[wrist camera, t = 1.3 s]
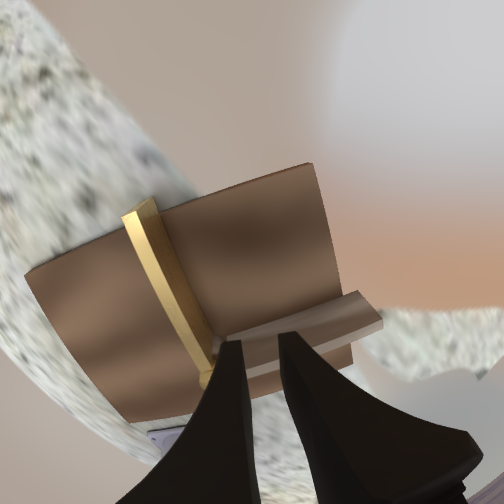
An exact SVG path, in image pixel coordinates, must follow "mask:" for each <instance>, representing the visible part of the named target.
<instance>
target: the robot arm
mask: <svg viewBox="0 0 504 504" xmlns="http://www.w3.org/2000/svg"><path fill="white" fill-rule="evenodd" d="M278 347H279V364H280V377H281V381H282V386H283V390H284V394H285V398H286V402H287V404H288V407H289V410H290V413H291V415H292V418H293V421H294V423H295V426H296V429H297V431H298V434H299V436H300V439H301V442H302V444H303V447H304V450H305V453H306V456H307V459H308V463H309V467H310V471H311V474H312V478H313V482H314V486H315V491H316V495H317V499H318V503H319V504H504V472H503V473H502V474H501V475H500V476H498V477H497V478H496V479H494V480H493V481H492V482H491V483H489V484H488V485H487V486H485V487H484V488H483V489H481V490H480V491H479V492H477V493H476V494H474V495H473V496H472V497H470V498H469V499H467V500H466V499H465V497H464V495H463V492H464V491H465V490H466V487H465V486H464V484H463V482H462V480H464V479H465V477H467V476H468V475H469V474H470V473H471V472H472V471H473V470H474V469H475V468H476V467H477V465H478V464H479V463H480V462H481V460H482V458H483V453H482V451H481V450H480V448H479V446H478V445H477V444H476V442H475V441H474V439H473V438H472V437H471V436H470V434H469V433H468V432H467V431H463V430H458V429H454V428H450V427H445V426H441V425H437V424H434V423H431V422H428V421H425V420H422V419H420V418H417V417H414V416H412V415H409V414H407V413H405V412H403V411H400V410H398V409H396V408H394V407H392V406H390V405H388V404H386V403H384V402H382V401H380V400H379V399H377V398H375V397H374V396H372V395H370V394H369V393H367V392H365V391H364V390H362V389H361V388H359V387H358V386H357V385H355V384H354V383H352V382H351V381H350V380H348V379H347V378H346V377H344V376H343V375H342V374H341V373H339V372H338V371H337V370H336V369H335V368H333V367H332V366H331V365H330V364H329V363H328V362H327V361H326V360H324V359H323V358H322V357H321V356H320V355H319V354H318V353H317V352H316V351H315V350H314V349H313V348H312V347H311V346H310V345H309V344H308V343H307V342H306V341H305V340H304V339H303V338H302V337H301V335H300V334H299V333H298V332H296V331H291V332H286V333H280V334H278ZM147 437H148V438H149V439H150V440H151V441H152V442H153V443H154V444H155V445H156V446H158V447H159V448H160V449H161V450H162V452H161V460H160V461H159V462H158V464H157V465H156V466H155V467H154V468H153V469H152V470H151V471H150V472H149V473H148V475H147V476H146V477H145V478H144V479H143V480H142V481H141V482H140V483H138V484H137V485H136V486H135V487H134V488H133V489H132V490H130V491H129V492H128V493H127V494H126V495H125V496H124V497H122V498H121V499H120V500H119V501H118V502H117V503H115V504H261V499H260V494H259V488H258V482H257V476H256V470H255V462H254V446H253V427H252V408H251V400H250V394H249V387H248V381H247V375H246V369H245V362H244V356H243V350H242V343H241V339H240V340H233V341H225V342H222V343H221V344H220V349H219V353H218V357H217V360H216V363H215V366H214V369H213V372H212V375H211V377H210V380H209V382H208V385H207V387H206V389H205V391H204V393H203V396H202V398H201V400H200V402H199V404H198V406H197V408H196V410H195V411H194V413H193V415H192V417H191V418H190V420H189V422H188V423H187V425H186V426H185V427H179V428H173V429H167V430H160V431H152V432H148V433H147Z"/></svg>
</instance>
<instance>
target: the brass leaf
mask: <svg viewBox="0 0 504 504" xmlns="http://www.w3.org/2000/svg"><path fill="white" fill-rule="evenodd" d="M121 218H122V220H123V223H124V225H125V227H126V230H127V232H128V234H129V237H130V239H131V241H132V243H133V246H134V248H135V250H136V252H137V254H138V257H139V259H140V261H141V263H142V265H143V267H144V269H145V272H146V274H147V276H148V278H149V280H150V282H151V284H152V286H153V288H154V290H155V292H156V294H157V296H158V298H159V300H160V302H161V304H162V306H163V307H164V309H165V311H166V313H167V315H168V317H169V319H170V321H171V322H172V324H173V326H174V328H175V330H176V332H177V333H178V335H179V337H180V339H181V340H182V342H183V344H184V346H185V347H186V349H187V351H188V353H189V354H190V356H191V358H192V359H193V361H194V363H195V364H196V366H197V368H198V369H199V371H200V380H199V383H200V386H201V388H202V389H204V390H205V389H206V387H207V385H208V382H209V380H210V377H211V375H212V372H213V369H214V366H215V363H216V360H217V357H218V355H212V331H211V329H210V327H209V325H208V323H207V321H206V319H205V317H204V315H203V313H202V311H201V309H200V306H199V304H198V302H197V300H196V298H195V296H194V294H193V291H192V289H191V287H190V285H189V283H188V280H187V278H186V276H185V274H184V272H183V269H182V267H181V265H180V262H179V260H178V258H177V256H176V253H175V251H174V249H173V246H172V244H171V242H170V239H169V237H168V234H167V232H166V230H165V227H164V225H163V222H162V220H161V217H160V215H159V212H158V210H157V207H156V205H155V202H154V200H153V197H151V198H149V199H147V200H144V201H142V202H140V203H139V204H137V205H136V206H135V207H133V208H132V209H131V210H130V211H128V212H127V213H126V214H125V215H123V216H122V217H121Z"/></svg>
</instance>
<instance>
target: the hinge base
mask: <svg viewBox="0 0 504 504" xmlns="http://www.w3.org/2000/svg"><path fill="white" fill-rule="evenodd" d="M159 215H160V217H161V220H162V222H163V225H164V227H165V230H166V232H167V234H168V237H169V239H170V242H171V244H172V246H173V249H174V251H175V253H176V256H177V258H178V260H179V262H180V265H181V267H182V269H183V272H184V274H185V276H186V278H187V280H188V283H189V285H190V287H191V289H192V291H193V294H194V296H195V298H196V300H197V302H198V304H199V306H200V309H201V311H202V313H203V315H204V317H205V319H206V321H207V323H208V325H209V327H210V329H211V331H212V355H218V353H219V349H220V344H221V343H222V342H225V341H233V340H240V339H241V343H242V350H243V356H244V362H245V369H246V375H247V381H248V387H249V394H250V399H254V398H257V397H261V396H264V395H267V394H271V393H274V392H277V391H280V390H283V386H282V381H281V377H280V364H279V347H278V334H280V333H286V332H291V331H296V332H298V333H299V334H300V335H301V337H302V338H303V339H304V340H305V341H306V342H307V343H308V344H309V345H310V346H311V347H312V348H313V349H314V350H315V351H316V352H317V353H318V354H319V355H320V356H321V357H322V358H323V359H324V360H326V361H327V362H328V363H329V364H330V365H331V366H332V367H333V368H335V369H336V370H339V369H342V368H344V367H347V366H349V365H352V364H353V358H352V351H351V344H350V343H351V342H353V341H356V340H358V339H360V338H363V337H365V336H367V335H370V334H372V333H374V332H376V331H379V330H381V329H383V318H382V317H381V316H380V315H379V314H378V313H377V311H376V310H375V309H374V308H373V307H372V306H371V305H370V304H369V302H368V301H367V300H366V299H365V298H364V297H363V296H362V295H361V293H360V292H359V291H358V290H357V291H354V292H351V293H349V294H346V295H344V296H343V294H342V289H341V283H340V278H339V273H338V268H337V263H336V258H335V254H334V248H333V244H332V239H331V235H330V230H329V226H328V222H327V217H326V213H325V209H324V205H323V201H322V197H321V193H320V189H319V185H318V181H317V177H316V174H315V170H314V166H313V163H304V164H301V165H297V166H294V167H291V168H287V169H284V170H281V171H278V172H274V173H271V174H268V175H265V176H262V177H259V178H255V179H252V180H249V181H246V182H243V183H240V184H237V185H234V186H232V187H228V188H226V189H223V190H220V191H217V192H214V193H211V194H208V195H206V196H203V197H200V198H197V199H195V200H192V201H189V202H186V203H184V204H181V205H178V206H176V207H173V208H171V209H168V210H165V211H163V212H160V213H159ZM24 277H25V279H26V281H27V283H28V285H29V287H30V289H31V291H32V292H33V294H34V296H35V298H36V300H37V301H38V303H39V305H40V307H41V308H42V310H43V312H44V313H45V315H46V317H47V318H48V320H49V322H50V323H51V325H52V326H53V328H54V330H55V331H56V333H57V334H58V336H59V337H60V339H61V340H62V342H63V343H64V345H65V346H66V347H67V349H68V350H69V352H70V353H71V355H72V356H73V357H74V359H75V360H76V361H77V363H78V364H79V366H80V367H81V368H82V369H83V371H84V372H85V373H86V375H87V376H88V377H89V378H90V380H91V381H92V382H93V383H94V385H95V386H96V387H97V388H98V390H99V391H100V392H101V393H102V394H103V396H104V397H105V398H106V399H107V400H108V401H109V402H110V404H111V405H112V406H113V407H114V408H115V409H116V410H117V411H118V413H119V414H120V415H121V416H122V417H123V418H124V419H125V420H126V421H127V422H128V423H136V422H144V421H151V420H157V419H164V418H170V417H175V416H181V415H186V414H191V413H194V411H195V410H196V408H197V406H198V404H199V402H200V400H201V398H202V396H203V393H204V391H205V390H204V389H202V388H201V386H200V383H199V380H200V371H199V369H198V368H197V366H196V364H195V363H194V361H193V359H192V358H191V356H190V354H189V353H188V351H187V349H186V347H185V346H184V344H183V342H182V340H181V339H180V337H179V335H178V333H177V332H176V330H175V328H174V326H173V324H172V322H171V321H170V319H169V317H168V315H167V313H166V311H165V309H164V307H163V306H162V304H161V302H160V300H159V298H158V296H157V294H156V292H155V290H154V288H153V286H152V284H151V282H150V280H149V278H148V276H147V274H146V272H145V269H144V267H143V265H142V263H141V261H140V259H139V257H138V254H137V252H136V250H135V248H134V246H133V243H132V241H131V239H130V237H129V234H128V232H127V230H126V227H123V228H121V229H118V230H116V231H114V232H111V233H109V234H107V235H105V236H102V237H100V238H98V239H95V240H93V241H91V242H89V243H86V244H84V245H82V246H80V247H78V248H76V249H73V250H71V251H69V252H67V253H65V254H63V255H61V256H58V257H56V258H54V259H52V260H50V261H48V262H46V263H44V264H42V265H40V266H38V267H36V268H34V269H32V270H30V271H29V272H28V273H26V274H25V275H24Z"/></svg>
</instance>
